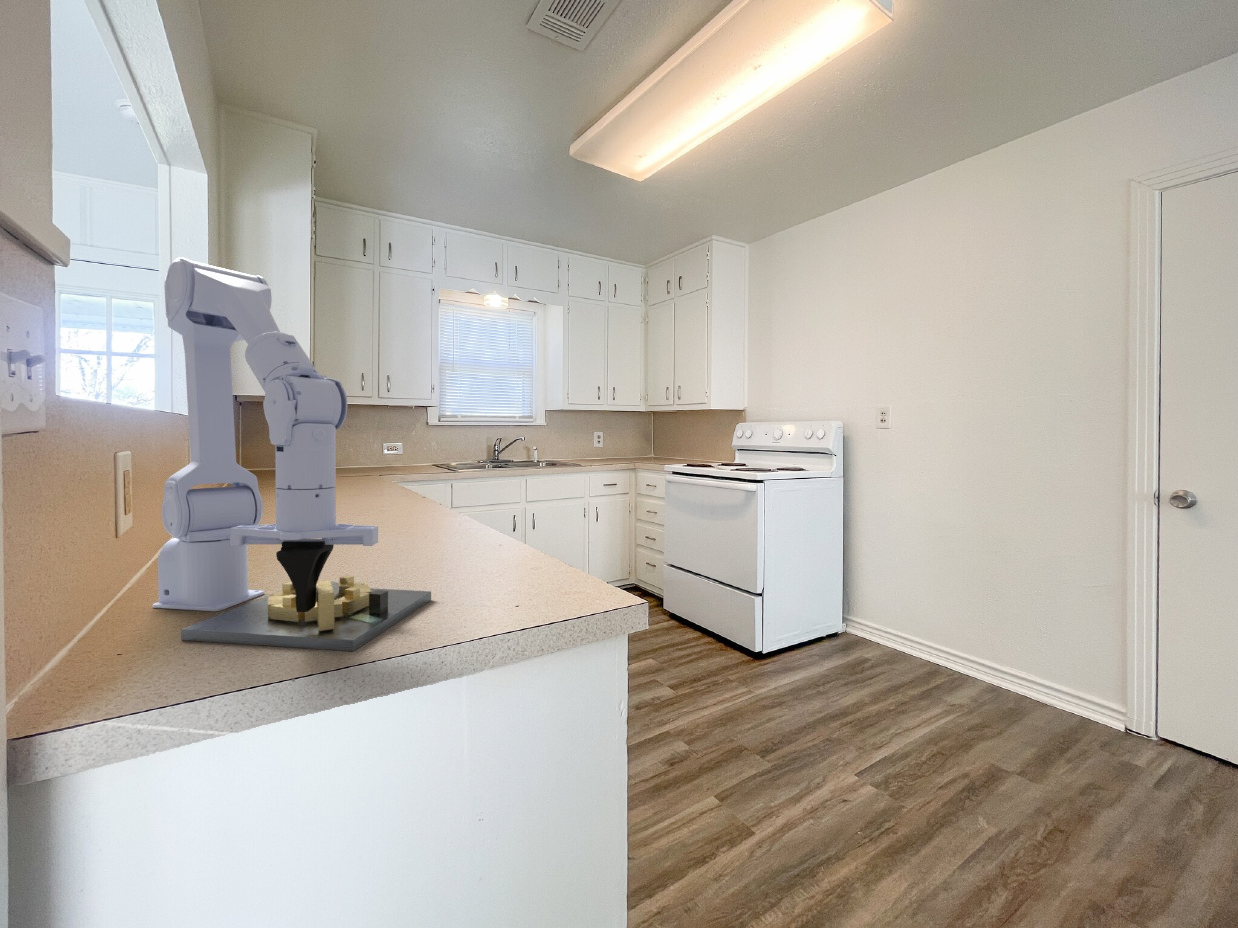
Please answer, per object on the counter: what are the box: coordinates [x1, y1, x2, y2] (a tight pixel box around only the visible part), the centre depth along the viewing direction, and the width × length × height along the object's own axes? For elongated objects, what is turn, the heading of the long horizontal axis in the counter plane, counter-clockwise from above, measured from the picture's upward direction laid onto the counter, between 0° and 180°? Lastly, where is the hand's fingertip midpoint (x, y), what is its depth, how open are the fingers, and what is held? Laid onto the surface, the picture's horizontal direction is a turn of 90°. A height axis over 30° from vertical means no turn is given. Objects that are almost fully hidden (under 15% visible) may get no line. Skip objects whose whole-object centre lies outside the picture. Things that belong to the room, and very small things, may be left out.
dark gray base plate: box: [180, 581, 432, 652], centre depth 66 cm, size 20×18×4 cm
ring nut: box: [267, 575, 372, 631], centre depth 65 cm, size 15×11×4 cm
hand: (306, 609), depth 59 cm, fingers closed, pressing on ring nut
